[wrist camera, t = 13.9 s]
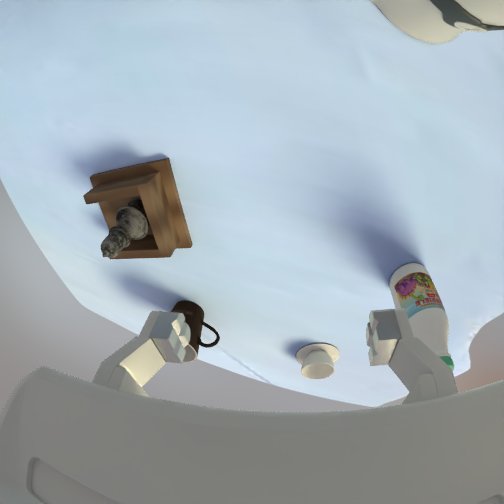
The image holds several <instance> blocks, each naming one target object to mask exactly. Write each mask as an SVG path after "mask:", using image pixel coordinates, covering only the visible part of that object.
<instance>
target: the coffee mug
mask: <svg viewBox="0 0 504 504" xmlns="http://www.w3.org/2000/svg"><path fill="white" fill-rule="evenodd" d="M171 312H175V313H183V315H184V317H185V320H184V322H185V323H187V324H188V325H189V328H190V333H191V334H190V341H189V344H188V345H187V346H186V347H184V349H185V351H186V353H185V356H184V359H183V362H182V363H190V362H193V361H195V360H196V359H197V355H198V349H199V345H201V346H203V347H212V346H215V345H216V344H217V343H218V341H219V339H220V337H219V334H218V332H217V331H216V330H215V329H214V328H213V327H211V326H210V325H208V324H206V323H205V322H203V319H204V311H203V310H202V308H201V307H200V306H199V305H197V304H195V303H193V302H191V301H185V300H184V301H179V302H177V303H176V305H175V306H174V308H173V309H172V311H171ZM202 325H204V326H205V327H207V328H209V329H210V330H212V331H213V332H214V333H215V334H216V336H217V338H216V340H215V341H214V342H213V343H211V344H204V343H202V342H201V339H200V337H201V331H202Z"/></svg>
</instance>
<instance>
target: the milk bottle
mask: <svg viewBox="0 0 504 504" xmlns="http://www.w3.org/2000/svg"><path fill="white" fill-rule="evenodd" d="M389 286H390V290H391V294H392V297H393V300H394V304H395V307H396V309H399V308H404V309H405V310H406V313H407V316H408V319H409V322H410V325H411V329H412V332H413V335H414V338H415V337H417V338H418V339H420V340H421V341H422V342H423V343H424V344H425V345H426V346H427V347H428V348H430V349H431V350H432V351H433V352H434V353H435V354H436V355H437V356H438V357H440V358H441V359H442V360H443V361H444V362H445V363H446V364H447V365H448V366H449V367H450V368H451V369H452V371H453V369H454V364H453V361H452V359H451V355H450V354H449V353H448V334H449V324H448V319H447V315H446V312H445V310H444V307H443V304H442V302H441V300H440V297H439V295H438V293H437V290H436V288H435V286H434V284H433V282H432V279H431V277H430V275H429V273H428V271H427V270H426V268H425V267H424V266H422V265H420V264H417V263H409V264H406V265H403V266H401V267H400V268H398V269H397V270H396V271H395V272H394V273H393V275H392V277H391V279H390V284H389Z"/></svg>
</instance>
